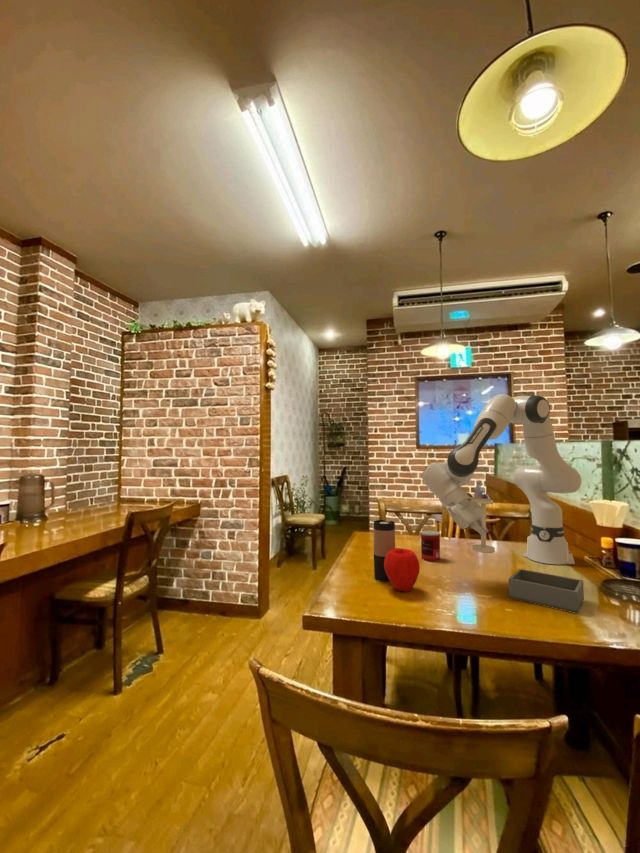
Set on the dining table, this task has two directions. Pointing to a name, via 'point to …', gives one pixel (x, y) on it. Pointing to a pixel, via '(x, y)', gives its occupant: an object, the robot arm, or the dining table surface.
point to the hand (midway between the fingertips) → (485, 533)
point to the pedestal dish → (483, 546)
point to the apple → (402, 568)
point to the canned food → (430, 545)
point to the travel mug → (382, 546)
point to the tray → (547, 590)
